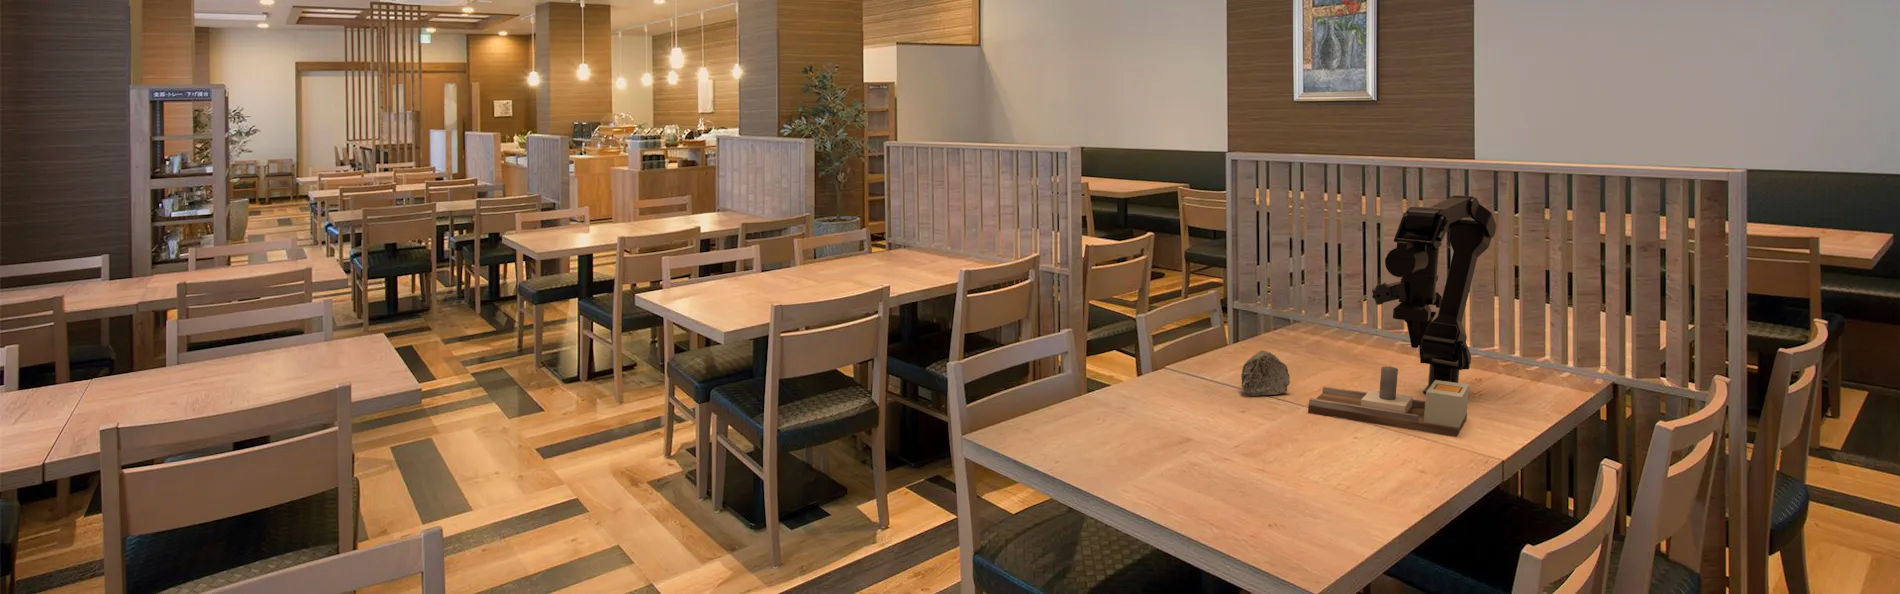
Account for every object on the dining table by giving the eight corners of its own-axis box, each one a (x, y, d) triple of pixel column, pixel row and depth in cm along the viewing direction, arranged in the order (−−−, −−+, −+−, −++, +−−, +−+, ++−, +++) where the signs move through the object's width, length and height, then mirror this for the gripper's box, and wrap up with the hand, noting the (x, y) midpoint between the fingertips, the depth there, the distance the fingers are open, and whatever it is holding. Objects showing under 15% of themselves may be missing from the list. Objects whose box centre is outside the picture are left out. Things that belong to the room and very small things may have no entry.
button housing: (1432, 409, 193) (1435, 379, 192) (1466, 414, 189) (1469, 384, 188) (1423, 422, 185) (1426, 391, 184) (1458, 427, 181) (1461, 396, 180)
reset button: (1436, 409, 190) (1438, 384, 189) (1458, 412, 187) (1461, 387, 186) (1432, 414, 186) (1434, 389, 185) (1455, 417, 184) (1458, 392, 183)
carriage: (1369, 399, 198) (1372, 361, 197) (1412, 405, 194) (1415, 367, 192) (1360, 409, 192) (1363, 370, 190) (1404, 416, 187) (1407, 376, 186)
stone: (1273, 351, 204) (1267, 340, 213) (1234, 380, 207) (1229, 367, 216) (1302, 386, 204) (1294, 373, 214) (1262, 414, 207) (1256, 399, 217)
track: (1323, 398, 206) (1324, 385, 205) (1466, 420, 190) (1467, 407, 190) (1308, 412, 196) (1308, 399, 196) (1457, 437, 181) (1458, 423, 180)
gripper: (1386, 261, 204) (1380, 333, 207) (1367, 274, 189) (1362, 352, 192) (1444, 265, 198) (1438, 339, 201) (1430, 279, 183) (1424, 359, 186)
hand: (1414, 347), depth 195 cm, fingers closed
